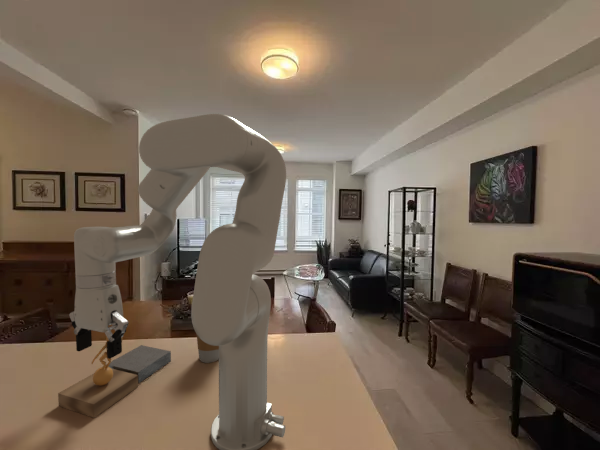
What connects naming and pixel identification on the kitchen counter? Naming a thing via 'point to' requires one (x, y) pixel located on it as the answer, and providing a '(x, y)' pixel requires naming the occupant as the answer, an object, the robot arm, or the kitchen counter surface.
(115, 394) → the walnut stand
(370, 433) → the kitchen counter surface
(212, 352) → the coffee cup
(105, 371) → the figurine
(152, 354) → the grey metal stand
